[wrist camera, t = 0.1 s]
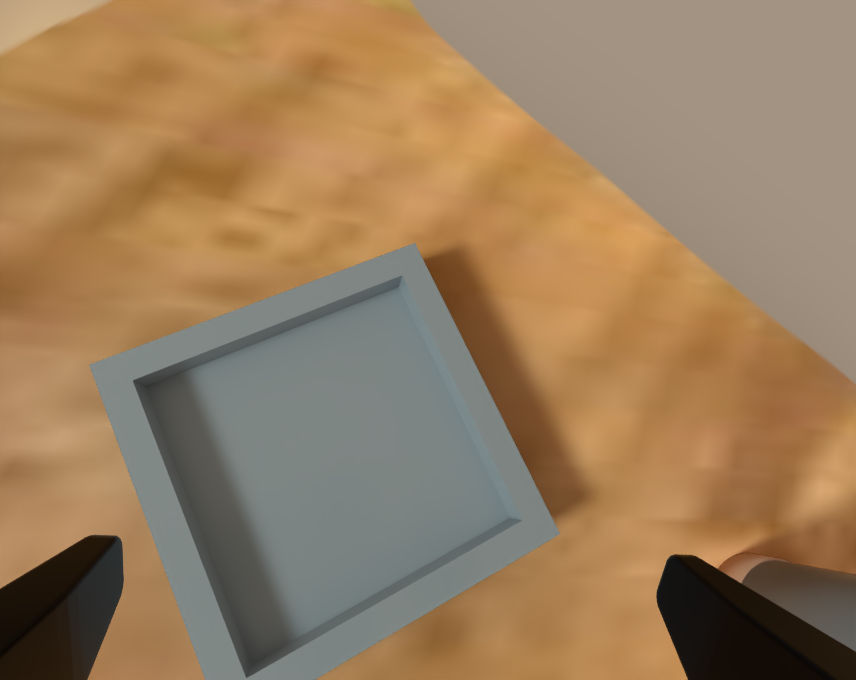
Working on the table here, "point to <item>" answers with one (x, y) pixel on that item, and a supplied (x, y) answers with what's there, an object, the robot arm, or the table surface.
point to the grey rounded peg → (802, 592)
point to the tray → (320, 469)
